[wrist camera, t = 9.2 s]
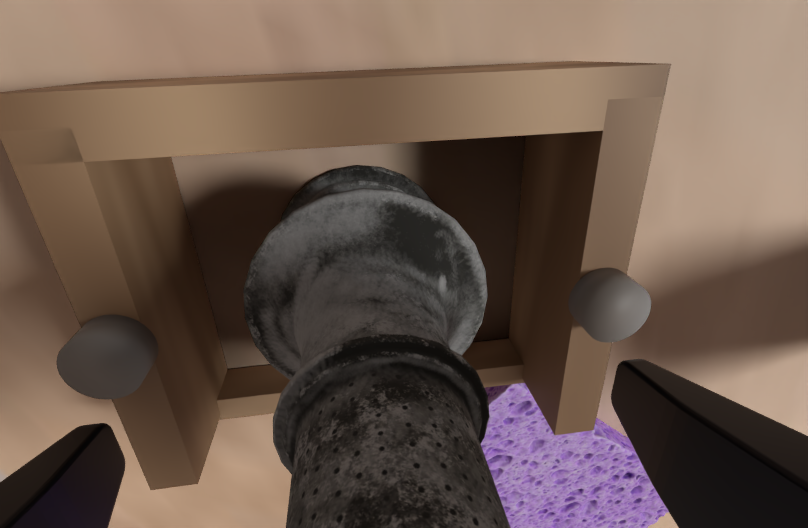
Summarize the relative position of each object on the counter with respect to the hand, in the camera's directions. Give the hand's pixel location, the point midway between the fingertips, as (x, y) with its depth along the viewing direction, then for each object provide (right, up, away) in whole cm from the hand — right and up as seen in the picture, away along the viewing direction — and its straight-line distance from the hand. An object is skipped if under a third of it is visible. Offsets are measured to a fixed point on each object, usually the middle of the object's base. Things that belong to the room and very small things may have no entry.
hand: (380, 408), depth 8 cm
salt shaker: (-1, +3, +6) cm, 7 cm away
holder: (-1, +3, +6) cm, 7 cm away
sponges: (+7, -6, +12) cm, 16 cm away
